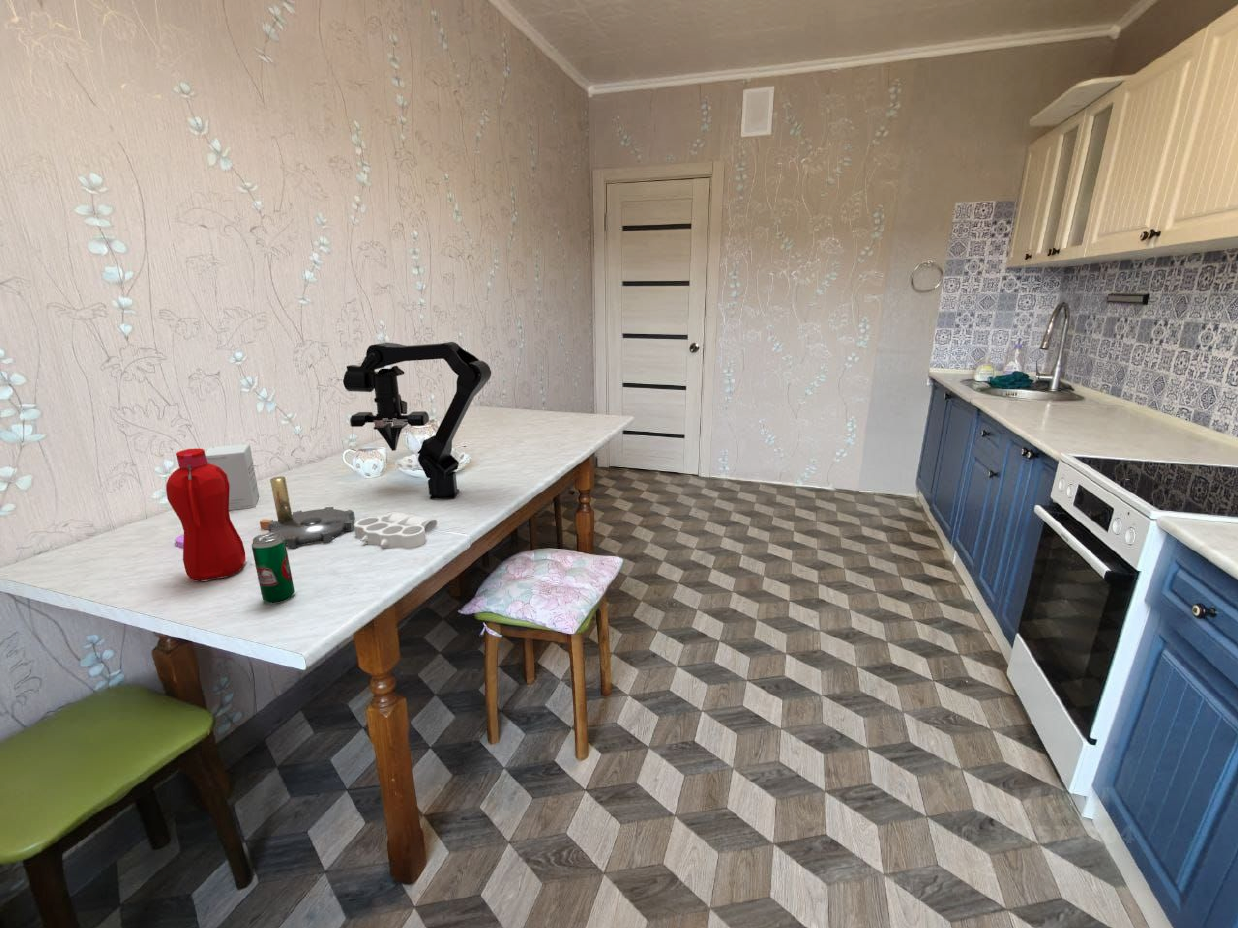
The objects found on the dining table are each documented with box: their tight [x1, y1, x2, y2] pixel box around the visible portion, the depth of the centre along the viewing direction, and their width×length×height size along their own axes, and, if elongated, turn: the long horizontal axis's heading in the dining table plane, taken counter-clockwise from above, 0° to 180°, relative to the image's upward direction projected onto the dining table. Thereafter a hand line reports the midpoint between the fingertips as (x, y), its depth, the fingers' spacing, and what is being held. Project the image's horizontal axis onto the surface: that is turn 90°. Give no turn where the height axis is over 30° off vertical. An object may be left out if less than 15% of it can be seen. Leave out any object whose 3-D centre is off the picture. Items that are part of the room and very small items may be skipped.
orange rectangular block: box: [259, 519, 274, 531], centre depth 132 cm, size 2×1×2 cm, turn 83°
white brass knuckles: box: [353, 511, 438, 550], centre depth 128 cm, size 3×18×15 cm
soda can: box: [251, 531, 296, 604], centre depth 101 cm, size 5×5×12 cm
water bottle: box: [165, 448, 246, 582], centre depth 108 cm, size 9×11×25 cm
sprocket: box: [266, 476, 356, 549], centre depth 129 cm, size 19×19×12 cm
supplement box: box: [205, 443, 260, 511], centre depth 145 cm, size 9×9×15 cm
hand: (394, 450), depth 152 cm, fingers closed
